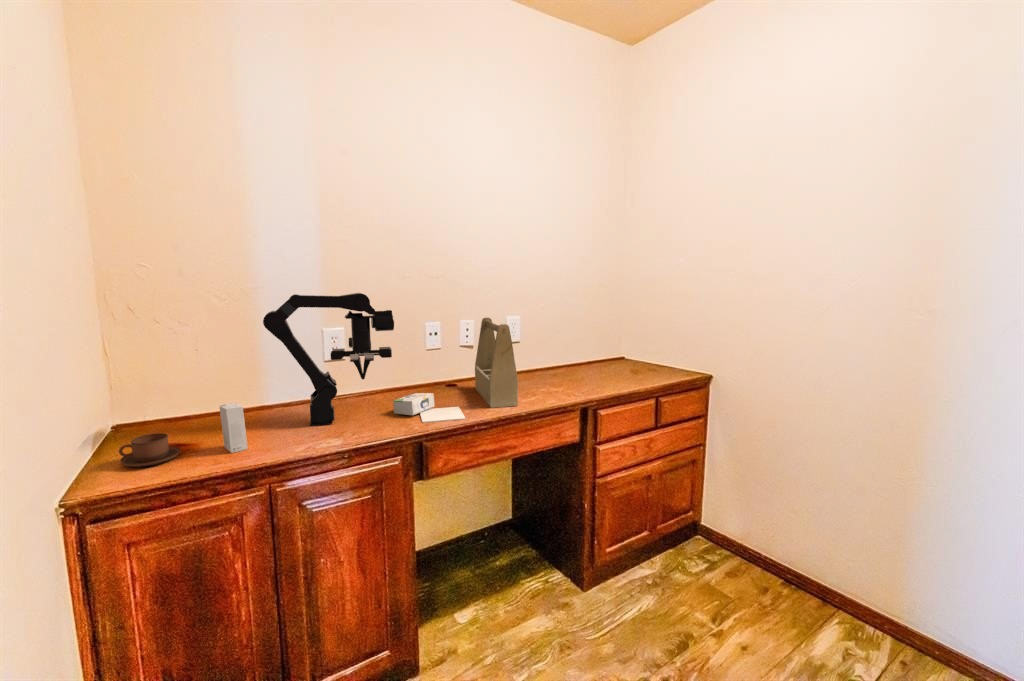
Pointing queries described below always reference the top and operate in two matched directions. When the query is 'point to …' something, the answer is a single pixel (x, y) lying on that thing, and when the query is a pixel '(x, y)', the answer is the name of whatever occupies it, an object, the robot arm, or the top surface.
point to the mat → (442, 414)
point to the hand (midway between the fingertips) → (363, 379)
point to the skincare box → (233, 427)
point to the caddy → (496, 366)
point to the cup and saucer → (149, 451)
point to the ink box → (413, 403)
